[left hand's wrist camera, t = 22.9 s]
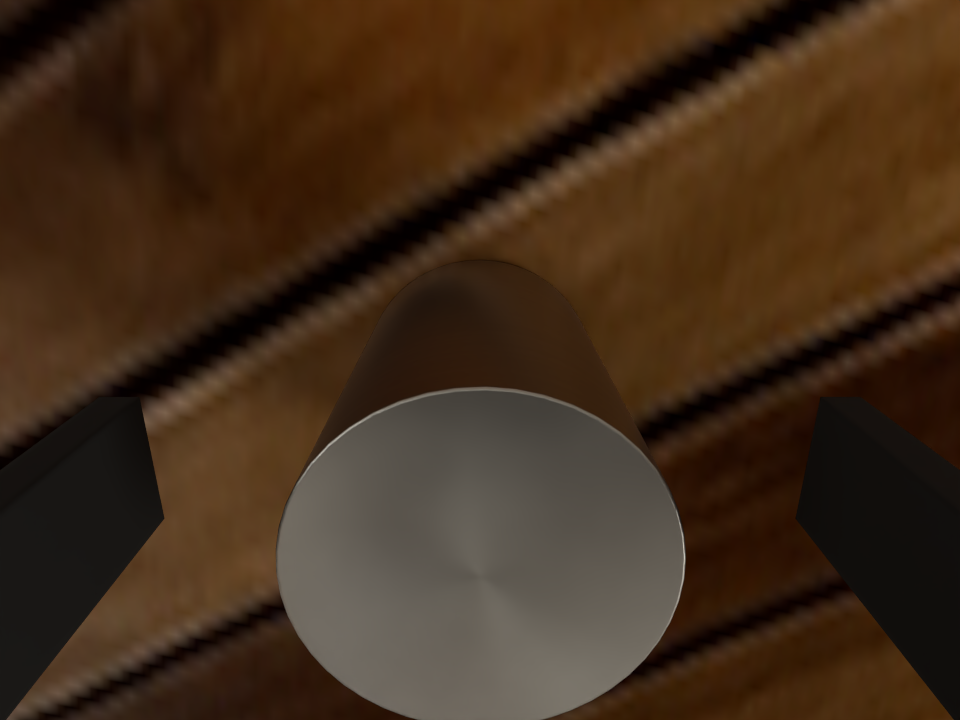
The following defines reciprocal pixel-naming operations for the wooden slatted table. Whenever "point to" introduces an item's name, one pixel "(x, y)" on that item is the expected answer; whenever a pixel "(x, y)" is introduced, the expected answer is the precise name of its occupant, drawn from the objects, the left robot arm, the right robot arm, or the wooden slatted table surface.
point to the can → (480, 511)
